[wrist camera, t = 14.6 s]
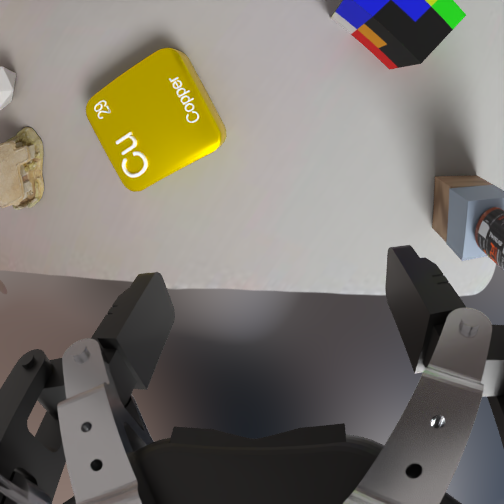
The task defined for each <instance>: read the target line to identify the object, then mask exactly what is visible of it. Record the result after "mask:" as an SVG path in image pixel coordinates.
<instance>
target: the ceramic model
mask: <svg viewBox="0 0 504 504" xmlns="http://www.w3.org/2000/svg"><path fill="white" fill-rule="evenodd" d="M42 162H43V145H42V141H41V139H40V137H38V135H37V134H36V132H35V131H34V130H33V129H32V128H30V127H25V128H23V129H22V130H21V131H19V132H18V133H17V135H16V136H15V137H13V138H11V139H9V140H7V141H6V142H5V143H1V144H0V207H1V208H4V207H7V206H10V205H13V208H15V209H17V210H19V209H22V208H25V207H29V208H31V207H33V206H34V205H35V204H36V203H37V202H38V201H40V199H41V197H42V194H43V191H44V182H43V177H42V164H43V163H42Z"/></svg>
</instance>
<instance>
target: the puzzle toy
mask: <svg viewBox="0 0 504 504" xmlns="http://www.w3.org/2000/svg"><path fill="white" fill-rule="evenodd" d="M465 16H466V14H465V13H464V12H463V11H462V10H461V9H460V8H459V6H458V5H457V4H456V3H455V2H454V1H453V0H343V1H342V2H341V4H340V5H339V7H338V8H337V10H336V11H335V12H334V14H333V15H332V17H331V19H333V20H334V21H335V22H336V23H338V24H339V25H340V26H341V27H343V28H344V29H345V30H346V31H348V32H349V33H350V34H351V35H352V36H354V37H355V38H356V39H357V40H358V41H359V42H361V43H362V44H363V45H364V46H365V47H366V48H367V49H368V50H370V51H371V52H372V53H373V54H374V55H375V56H376V57H377V58H378V59H379V60H380V61H381V62H382V63H383V64H384V65H386V66H387V67H388V68H389V69H394V68H399V67H404V66H410V65H416V64H421V63H422V62H423V61H424V60H425V59H426V58H427V57H428V55H429V54H430V53H431V52H432V51H433V50H434V49H435V48H436V47H437V46H438V45H439V44H440V43H441V41H442V40H443V39H444V38H445V37H446V36H447V35H448V34H449V33H450V32H451V31H452V30H453V29H454V28H455V26H456V25H457V24H458V23H459V22H460V21H461V20H462V19H463V18H464V17H465Z"/></svg>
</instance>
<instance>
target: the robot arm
mask: <svg viewBox="0 0 504 504" xmlns="http://www.w3.org/2000/svg"><path fill="white" fill-rule="evenodd" d="M386 297H387V302H388V305H389V307H390V310H391V312H392V314H393V317H394V320H395V322H396V325H397V327H398V330H399V332H400V335H401V338H402V340H403V343H404V345H405V348H406V351H407V353H408V356H409V359H410V362H411V365H412V368H413V370H414V373H420V372H423V374H422V376H421V378H420V380H419V383H418V385H417V387H416V389H415V391H414V393H413V395H412V397H411V399H410V401H409V403H408V405H407V407H406V409H405V410H404V412H403V414H402V416H401V418H400V420H399V422H398V423H397V425H396V427H395V429H394V430H393V432H392V434H391V436H390V437H389V439H388V441H387V442H386V444H385V445H382V444H380V443H377V442H375V441H373V440H370V439H367V438H364V437H359V436H354V435H346V434H345V425H344V424H335V425H326V426H316V427H305V428H298V429H294V430H291V431H287V432H284V433H280V434H276V435H272V436H268V437H263V438H259V439H249V438H245V437H241V436H237V435H233V434H228V433H225V432H221V431H217V430H214V429H199V428H185V427H174V428H173V432H172V435H171V438H167V439H162V440H159V441H156V442H154V441H153V440H152V438H151V436H150V434H149V432H148V429H147V427H146V425H145V423H144V420H143V418H142V416H141V413H140V411H139V409H138V406H137V404H136V401H135V399H134V397H133V396H132V391H133V389H147V388H148V385H149V383H150V380H151V377H152V375H153V372H154V370H155V367H156V364H157V362H158V359H159V357H160V355H161V352H162V350H163V347H164V345H165V342H166V340H167V338H168V335H169V333H170V330H171V328H172V325H173V323H174V318H175V314H174V307H173V304H172V302H171V299H170V296H169V294H168V291H167V288H166V285H165V283H164V280H163V277H162V275H161V274H160V273H158V272H155V273H145V274H139V275H138V276H137V277H136V279H135V280H134V282H133V283H132V285H131V286H130V288H128V289H127V290H126V291H124V292H123V293H122V294H121V295H120V296H118V298H117V300H116V301H115V302H114V304H113V307H111V309H110V310H109V311H108V315H106V316H105V317H104V319H103V321H102V322H101V324H100V325H99V327H98V328H97V330H96V331H95V333H94V335H93V336H92V338H87V339H82V340H79V341H77V342H75V343H74V344H72V345H71V346H70V347H69V348H68V349H67V350H66V352H65V353H64V355H63V358H59V359H54V360H49V359H48V358H47V357H46V355H45V354H44V352H43V351H42V350H39V349H36V350H31V351H29V352H27V353H26V354H25V355H23V356H22V357H21V358H20V359H19V360H18V362H17V364H16V365H15V366H14V368H13V370H12V371H11V373H10V374H9V376H8V377H7V379H6V381H5V382H4V384H3V386H2V387H1V389H0V504H52V501H53V497H54V494H55V491H56V488H57V485H58V482H59V479H60V477H61V474H62V471H63V468H64V465H65V462H66V463H67V468H68V472H69V477H70V480H71V485H72V488H73V492H74V496H73V497H72V498H71V499H69V500H68V501H66V502H65V503H63V504H461V503H460V502H458V501H457V500H456V499H454V498H453V497H452V496H450V495H449V494H448V493H446V490H447V488H448V486H449V484H450V482H451V479H452V477H453V475H454V473H455V471H456V469H457V466H458V464H459V461H460V459H461V457H462V454H463V452H464V449H465V446H466V443H467V441H468V438H469V436H470V433H471V430H472V427H473V424H474V421H475V418H476V415H477V412H478V408H479V405H480V402H481V398H482V396H484V397H487V398H488V400H489V403H490V406H491V409H492V412H493V415H494V418H495V421H496V424H497V427H498V430H499V434H500V437H501V440H502V444H503V447H504V325H492V324H491V322H490V320H489V318H488V317H487V316H485V314H484V313H482V312H480V311H478V310H476V309H472V308H466V307H465V305H464V303H463V302H462V300H461V299H460V297H459V296H458V294H457V293H456V292H455V290H454V289H453V287H452V286H451V284H450V283H448V280H447V279H446V277H445V276H443V273H442V272H441V270H440V269H439V268H438V266H437V265H436V264H434V263H433V262H431V261H430V260H428V259H427V258H419V256H418V255H417V253H416V252H415V251H414V249H413V248H412V247H411V246H410V245H406V246H398V247H390V248H389V249H388V255H387V274H386ZM37 400H38V401H39V403H40V404H41V405H42V406H43V407H44V408H45V409H46V410H47V412H46V414H45V416H44V418H43V420H42V422H41V425H40V427H39V429H38V431H37V433H36V435H35V437H34V436H33V435H32V434H31V433H30V432H29V430H28V428H27V419H28V417H29V415H30V413H31V411H32V409H33V407H34V405H35V403H36V401H37Z"/></svg>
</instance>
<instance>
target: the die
mask: <svg viewBox="0 0 504 504" xmlns="http://www.w3.org/2000/svg"><path fill="white" fill-rule="evenodd" d="M15 79H16V73H14V72H12V71H10V70H8V69H6V68H5V67H3V66H0V110H1V109H3V108H4V107H5V106H6V105H8V104H9V103H10V102H12V96H13V91H14V85H15Z"/></svg>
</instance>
